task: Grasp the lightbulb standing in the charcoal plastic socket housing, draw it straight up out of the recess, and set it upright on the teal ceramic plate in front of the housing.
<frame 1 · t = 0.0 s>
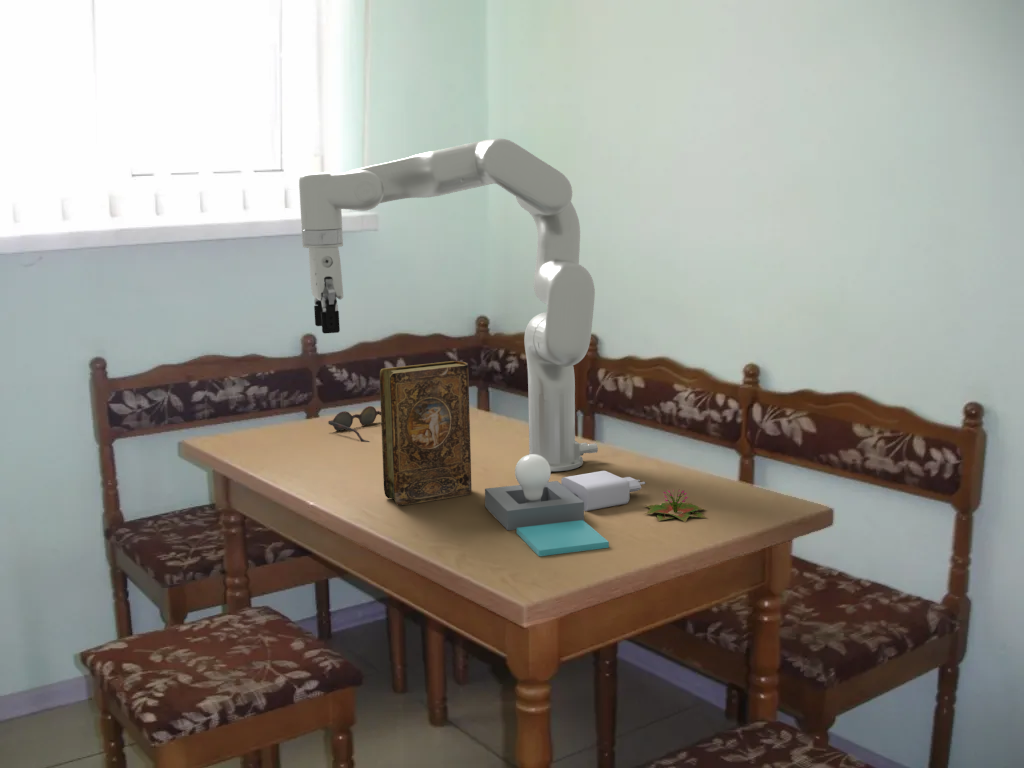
hand: (327, 329, 216), 31 cm above the table, fingers open, 9 cm apart
lightbulb: (533, 515, 203), resting in socket housing
book: (430, 497, 215), on the table
plate: (561, 540, 189), on the table
eyeglasses: (372, 434, 266), on the table
charger: (608, 501, 211), on the table
socket housing: (533, 514, 203), on the table
lily flower: (675, 516, 203), on the table
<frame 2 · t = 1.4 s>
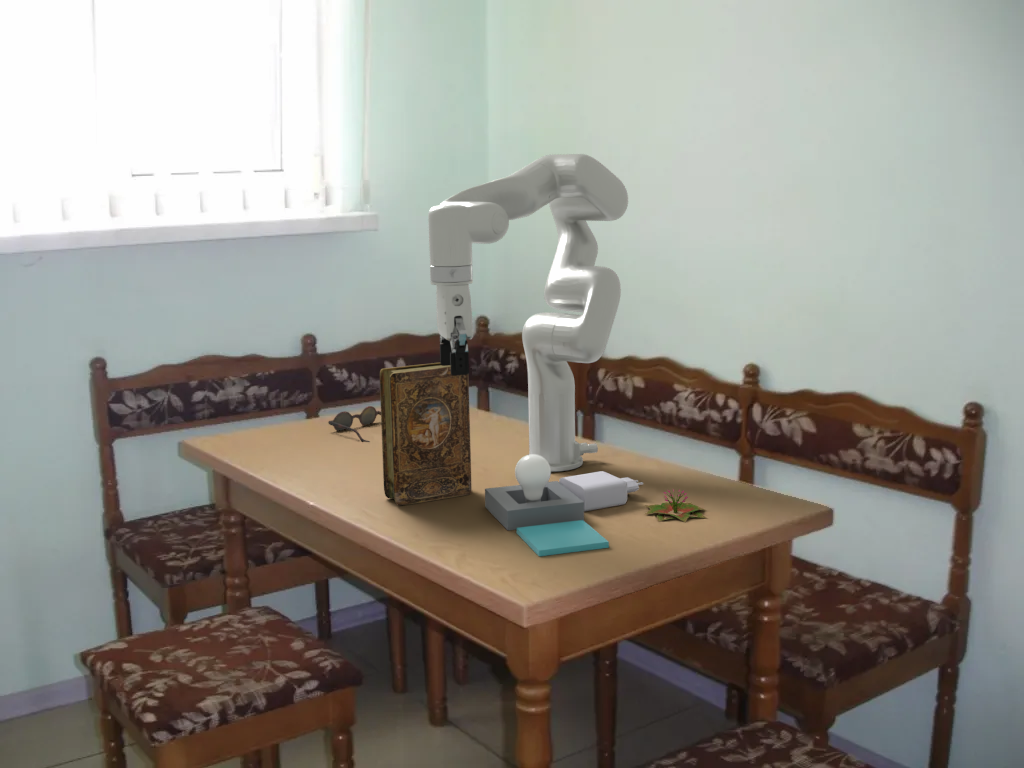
hand: (454, 369, 205), 25 cm above the table, fingers open, 9 cm apart
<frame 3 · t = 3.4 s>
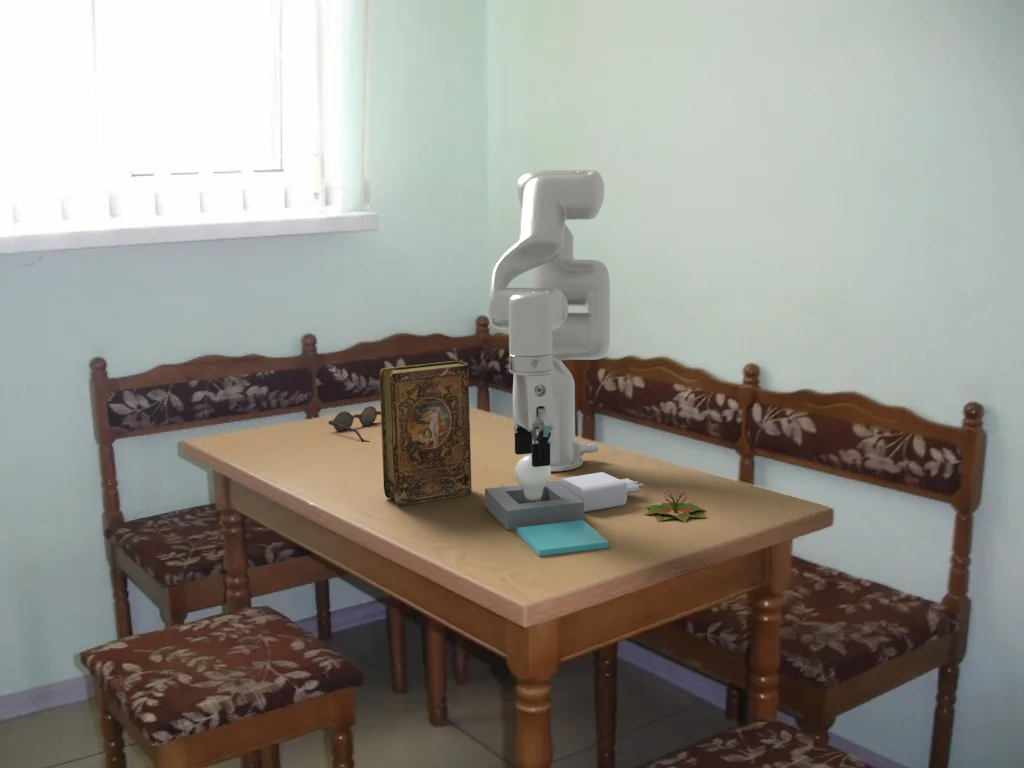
hand: (532, 459, 200), 10 cm above the table, fingers open, 9 cm apart
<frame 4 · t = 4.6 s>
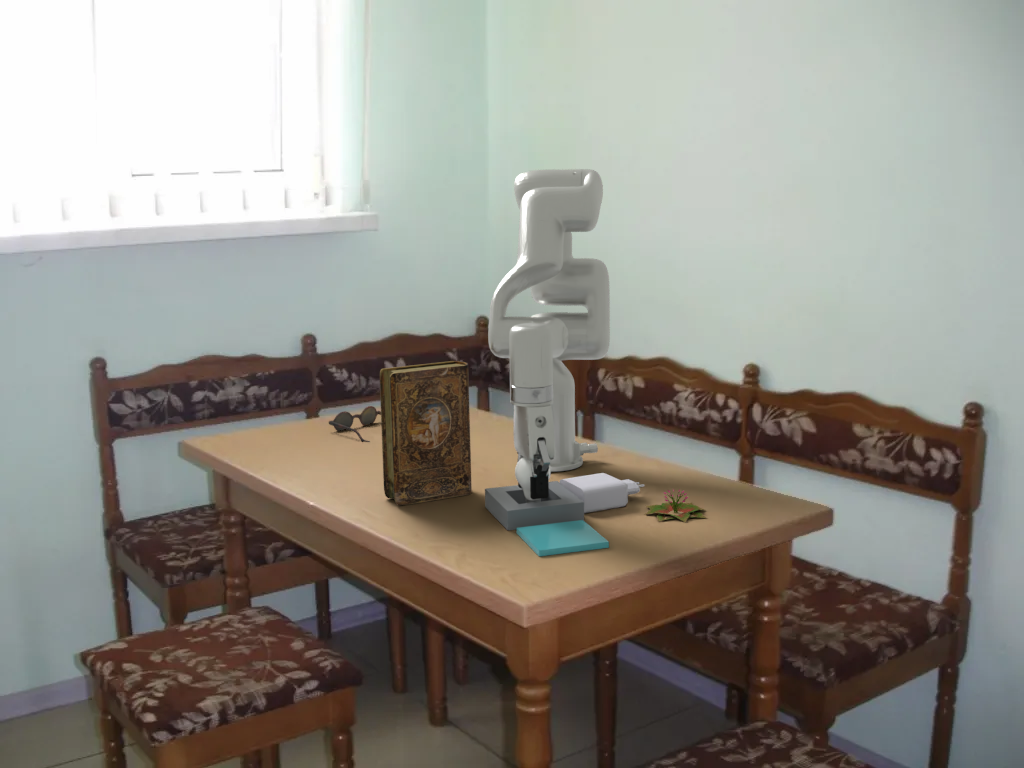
hand: (533, 491, 202), 4 cm above the table, fingers closed on lightbulb, 6 cm apart
lightbulb: (533, 515, 203), resting in socket housing, touching gripper
when the fingers open (6 cm above the table, at t = 11.5 s): lightbulb stays where it is, resting on plate.
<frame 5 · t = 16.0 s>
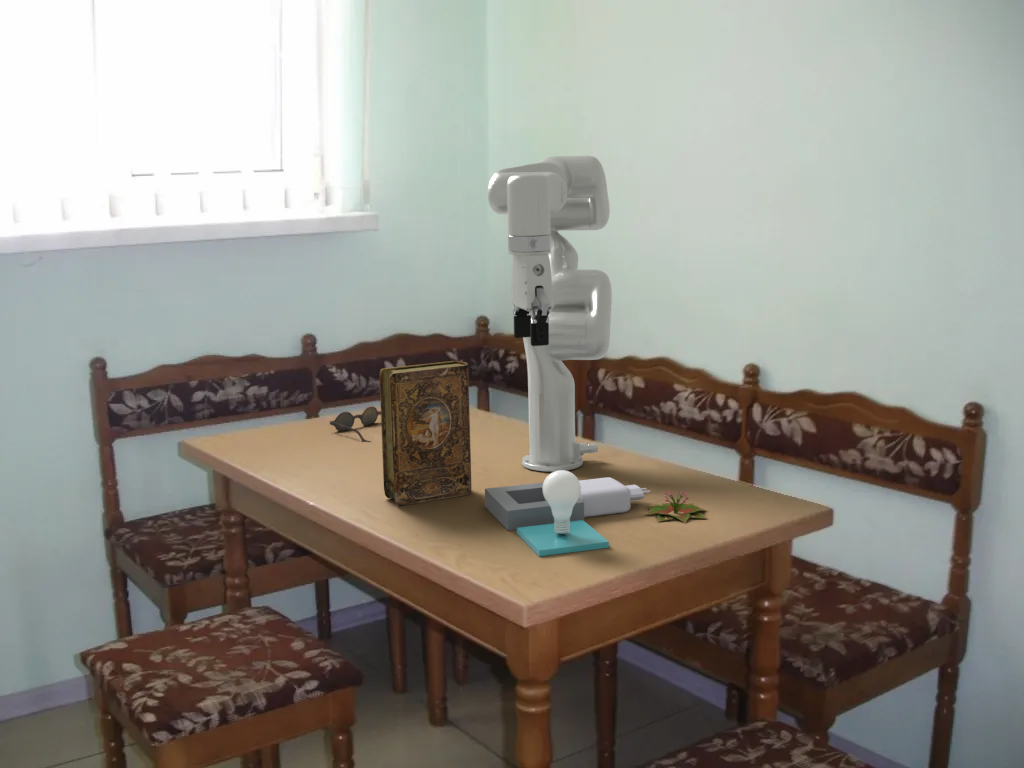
hand: (531, 341, 203), 30 cm above the table, fingers open, 9 cm apart
lightbulb: (562, 535, 189), point 1 cm above the table, touching plate
charger: (610, 508, 207), on the table
everything else where it was.
at the end: lightbulb inside the target area on the plate (0.1 cm from its centre), point 0.8 cm above the plate's base; lightbulb tilted 0°; the gripper is holding nothing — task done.
